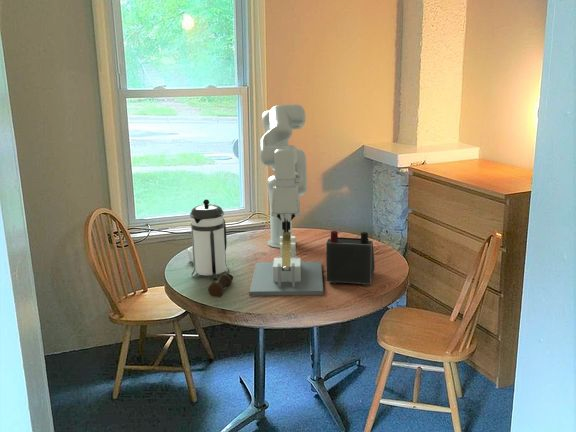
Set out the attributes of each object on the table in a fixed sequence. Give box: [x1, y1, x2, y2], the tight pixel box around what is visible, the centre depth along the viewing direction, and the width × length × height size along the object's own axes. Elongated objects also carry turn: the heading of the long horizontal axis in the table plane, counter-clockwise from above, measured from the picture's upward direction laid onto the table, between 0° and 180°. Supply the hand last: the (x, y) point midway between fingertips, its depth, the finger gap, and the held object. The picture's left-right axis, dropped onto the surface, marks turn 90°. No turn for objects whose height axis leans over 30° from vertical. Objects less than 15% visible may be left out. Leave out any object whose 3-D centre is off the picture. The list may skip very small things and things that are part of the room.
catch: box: [279, 235, 297, 258], centre depth 229 cm, size 6×6×11 cm
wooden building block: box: [282, 232, 291, 271], centre depth 214 cm, size 15×3×11 cm, turn 178°
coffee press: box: [189, 199, 230, 282], centre depth 225 cm, size 17×16×30 cm
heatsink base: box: [248, 257, 324, 297], centre depth 220 cm, size 31×26×10 cm
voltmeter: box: [325, 230, 376, 287], centre depth 218 cm, size 16×16×20 cm
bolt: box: [207, 273, 234, 298], centre depth 213 cm, size 6×5×15 cm
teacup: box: [187, 246, 194, 263], centre depth 244 cm, size 10×8×5 cm
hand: (286, 231), depth 217 cm, fingers closed
